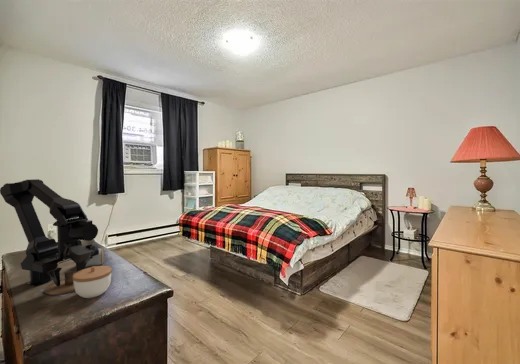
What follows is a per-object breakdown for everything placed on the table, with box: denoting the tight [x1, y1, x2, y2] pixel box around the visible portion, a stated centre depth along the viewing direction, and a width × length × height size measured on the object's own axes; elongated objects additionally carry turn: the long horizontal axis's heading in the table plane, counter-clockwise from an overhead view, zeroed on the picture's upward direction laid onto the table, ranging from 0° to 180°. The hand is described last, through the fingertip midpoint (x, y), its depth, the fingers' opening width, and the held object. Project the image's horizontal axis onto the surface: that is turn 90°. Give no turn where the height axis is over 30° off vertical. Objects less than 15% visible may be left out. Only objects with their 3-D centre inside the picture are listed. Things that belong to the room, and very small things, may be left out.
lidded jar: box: [73, 265, 113, 299], centre depth 81 cm, size 11×11×9 cm
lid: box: [44, 270, 76, 296], centre depth 86 cm, size 13×13×5 cm
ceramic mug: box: [85, 247, 104, 268], centre depth 107 cm, size 11×8×8 cm
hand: (69, 281), depth 86 cm, fingers open, 7 cm apart
